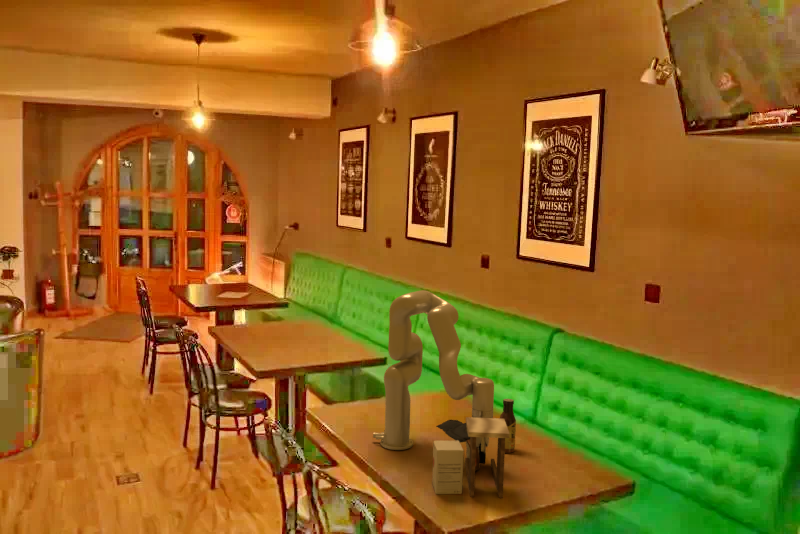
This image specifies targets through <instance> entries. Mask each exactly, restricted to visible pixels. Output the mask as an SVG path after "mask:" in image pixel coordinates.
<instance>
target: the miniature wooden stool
mask: <svg viewBox="0 0 800 534" xmlns="http://www.w3.org/2000/svg"><path fill="white" fill-rule="evenodd" d="M465 423H466V426H467V431H468V436H469V437H470V458H467V457H465V459H464V465H465V472H466V478H467V485H468V492H469V496H470V498H474V497H475V486H476V485H475V482H476V480H475V479H476V477H475V476H476V470H475V460H476V437H489V439H490V438H493V439H495V438H497V451H496V452H497V454H496V455H497V456H496V460H495V458H490V468H491V472H492V476H493V477H492V478H493V479H494V484H495V488H496V493H497V496H498V498H499V499H503V497H504V478H505V476H504V475H505V473H504V472H505V458H506V457H505V454H506V453H505V438H509V437H510V433H509V431H508V428H507V425H506V422H505V420H504V419H500V417H499V418H496V417H493V418H473V417H472V416H471V417H469V416H466V417H465Z"/></svg>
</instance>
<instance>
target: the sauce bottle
mask: <svg viewBox="0 0 800 534" xmlns="http://www.w3.org/2000/svg"><path fill="white" fill-rule="evenodd" d="M514 401H515V400H514V399H512V398H503V399H502V404H503V406H502V407H503V408H502V413H501V414H500V416H499V418H500V419H504V420H505V422H506V425H507V428H508V431H509V433H510V437H509V438H505V454H510V453H512V454H513V453H514V452H515V448H516V432H517V431H516V428H517V425H516V424H517V420H516V416H515V413H514V405H515V404H514V403H515V402H514Z"/></svg>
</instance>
